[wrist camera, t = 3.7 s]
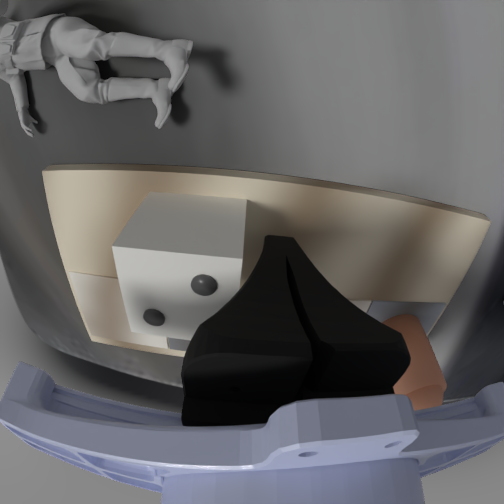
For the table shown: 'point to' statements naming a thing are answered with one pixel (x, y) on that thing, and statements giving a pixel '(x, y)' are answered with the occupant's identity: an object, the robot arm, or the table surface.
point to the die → (179, 261)
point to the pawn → (418, 365)
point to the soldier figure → (86, 61)
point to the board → (256, 228)
